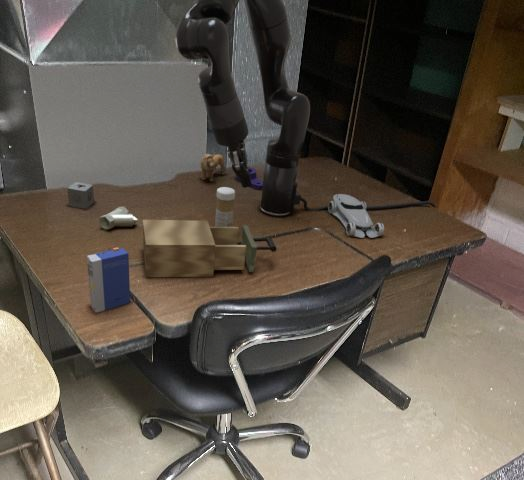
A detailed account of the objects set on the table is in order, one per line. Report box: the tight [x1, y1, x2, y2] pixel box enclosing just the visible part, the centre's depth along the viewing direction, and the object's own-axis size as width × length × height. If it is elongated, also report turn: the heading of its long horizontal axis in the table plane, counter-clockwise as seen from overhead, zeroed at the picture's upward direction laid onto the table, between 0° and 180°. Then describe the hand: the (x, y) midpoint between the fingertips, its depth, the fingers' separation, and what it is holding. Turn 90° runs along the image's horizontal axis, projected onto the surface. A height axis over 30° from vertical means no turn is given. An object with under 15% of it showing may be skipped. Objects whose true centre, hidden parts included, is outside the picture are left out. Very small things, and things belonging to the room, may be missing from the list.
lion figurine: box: [200, 153, 226, 182], centre depth 180 cm, size 15×5×9 cm, turn 162°
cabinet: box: [142, 219, 215, 278], centre depth 132 cm, size 15×13×8 cm
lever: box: [236, 166, 263, 190], centre depth 182 cm, size 12×6×3 cm, turn 36°
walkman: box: [86, 247, 131, 313], centre depth 113 cm, size 8×3×12 cm, turn 130°
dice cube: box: [67, 181, 95, 210], centre depth 153 cm, size 5×5×5 cm
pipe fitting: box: [99, 205, 138, 230], centre depth 145 cm, size 8×4×7 cm
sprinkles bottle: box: [214, 186, 236, 227], centre depth 143 cm, size 5×5×14 cm
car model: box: [327, 193, 385, 239], centre depth 165 cm, size 11×24×5 cm, turn 13°
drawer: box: [209, 224, 278, 273], centre depth 135 cm, size 20×12×6 cm, turn 102°
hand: (247, 185), depth 134 cm, fingers closed
